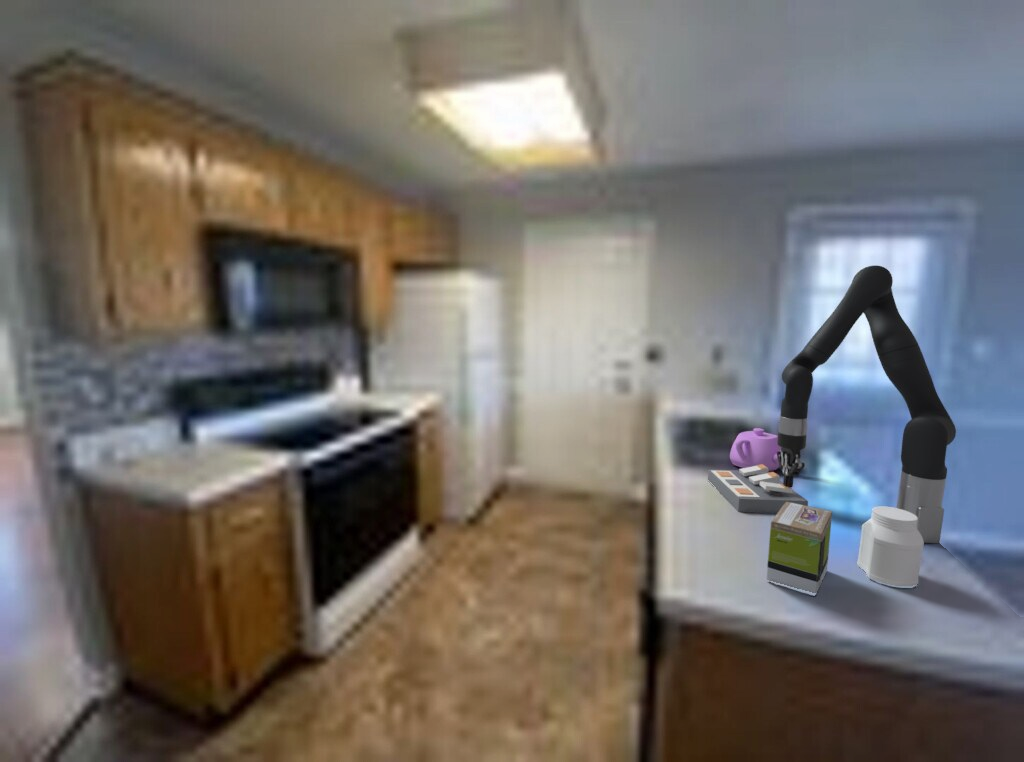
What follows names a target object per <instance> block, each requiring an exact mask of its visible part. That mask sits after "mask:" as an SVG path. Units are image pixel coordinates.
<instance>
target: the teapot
mask: <svg viewBox="0 0 1024 762" xmlns="http://www.w3.org/2000/svg"><path fill="white" fill-rule="evenodd" d="M777 440H778V434H774V433H769V432H765V429H763V428H759V427H758V428H757V427H755V428H753V430H747V431H742V432H740V433H738V435H737V436H736V439H735V440H734V441H733V443H732V446H731V449H730V453H729V459H730V461H731V463H732V464H733V465H734V466H736V467H739V468H740V469H742V468H747V467H752V466H756V465H760V464H763V465H764V466H766V467H767V468H768V470H769V472H774V471H776V470H778V469H780V466H779V461H778V457H777V451H781V447H780V446H778V444H777Z"/></svg>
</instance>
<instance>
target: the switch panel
mask: <svg viewBox="0 0 1024 762" xmlns="http://www.w3.org/2000/svg"><path fill="white" fill-rule="evenodd" d="M766 473H770V471H769V472H764V473H759V474H754V475H749V476H743V475H742V474H741V473H740V471H739V469H738V470H735V469H734V470H732V469H708V472H707V481H708V480H709V481H710V482H711V483H712V484H713V485H714V486H715V487H716V489H717V490H718V491H719V492H720V493H721V494H722V495H723V496H724V497H725V498H724V497H723V496H722V495H721V494H720V493H719V492H718V491H717V490H716V489H715V490H716V491H717V492H718V493H719V494H720V495H721V496H722V497H723V498H724V499H725V500H726V501H727V502H728V503H729V504H730V505H731V506H732V507H733V508H734V509H735V510H736V511H737V512H741V513H742V512H743V513H768V514H769V513H770V514H777V513H778V512H779V510H780V509H781V508H782V506H783V505H784V504H785V503H786V502H791V503H795V504H800V505H804V506H809V501H808V499H806V498H805V497H803V496H802V495H801V494H799V493H798V492H797V491H795V490H794V489H793V491H792V493H786V492H779V491H772V490H765V489H764V488H763V487H761V486H760V484H756V485H754V484H753V483H752V482H751V481H749V477H751V476H756V475H761V474H766ZM709 481H708V482H709ZM710 482H709V483H710ZM711 483H710V484H711ZM769 483H777V484H783V481H781V479H780V480H776V481H771V482H769ZM712 484H711V485H712ZM713 485H712V486H713ZM714 486H713V487H714Z"/></svg>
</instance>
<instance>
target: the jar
mask: <svg viewBox="0 0 1024 762" xmlns="http://www.w3.org/2000/svg"><path fill="white" fill-rule="evenodd" d="M917 522H918V518H917V516H916V515H914V514H912V513H910V512H908V511H905V510H902V509H898V508H897V507H893V506H892V507H891V506H886V505H885V506H884V505H882V506H881V505H880V506H879V505H878V506H874V507H873V508H872V509H871V517H870V518H869V519H868V520H866V522H864V523H863V524H862V525H861V533H860V542H859V550H858V557H857V558H858V559H857V560H856V561H857V562H856V566H857V565H858V566H859V567H860V568H861V569H860V568H859V567H858V566H857V567H858V568H859V569H860V570H862V569H863V570H864V571H865V572H866V574H867V575H866V574H865V575H866V577H867V576H868V577H869V578H871V579H873V580H876V581H879V582H882V583H885V584H890V585H895V586H913V585H916V584H918V585H919V577H920V569H921V561H922V555H923V549H924V545H925V543H924V541H923V538H922V536H921V534H920V532H919V531H918V529H917ZM863 570H862V571H863ZM864 571H863V572H864ZM865 572H864V573H865Z"/></svg>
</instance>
